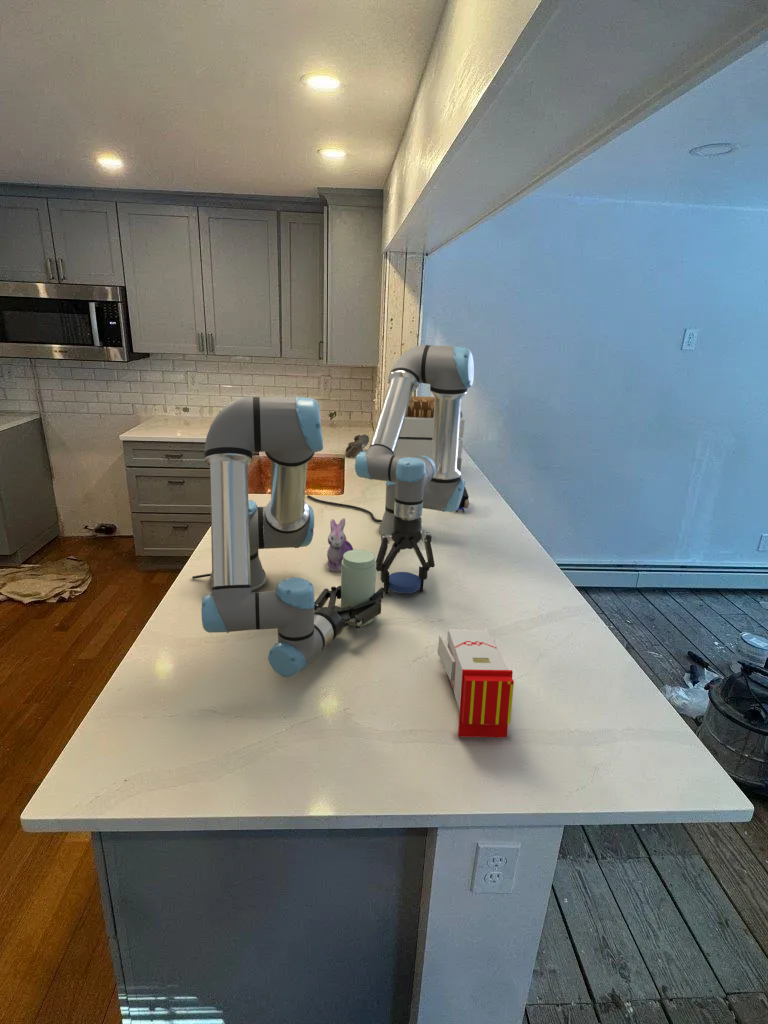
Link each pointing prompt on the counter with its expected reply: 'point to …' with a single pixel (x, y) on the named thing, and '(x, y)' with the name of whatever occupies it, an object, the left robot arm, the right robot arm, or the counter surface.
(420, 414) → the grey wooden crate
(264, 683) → the counter surface
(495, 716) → the toy
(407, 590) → the lid
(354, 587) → the jar
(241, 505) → the left robot arm
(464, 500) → the figurine character
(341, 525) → the figurine
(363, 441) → the grey animal figure
